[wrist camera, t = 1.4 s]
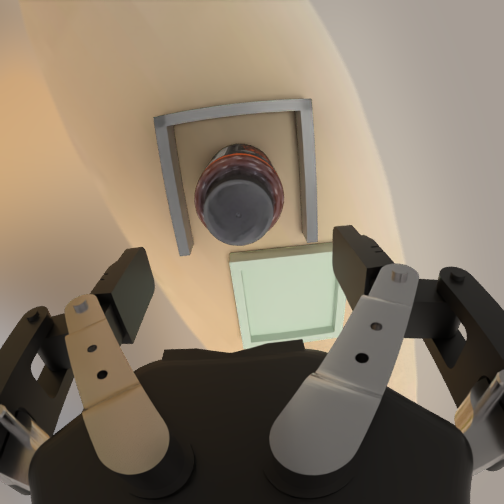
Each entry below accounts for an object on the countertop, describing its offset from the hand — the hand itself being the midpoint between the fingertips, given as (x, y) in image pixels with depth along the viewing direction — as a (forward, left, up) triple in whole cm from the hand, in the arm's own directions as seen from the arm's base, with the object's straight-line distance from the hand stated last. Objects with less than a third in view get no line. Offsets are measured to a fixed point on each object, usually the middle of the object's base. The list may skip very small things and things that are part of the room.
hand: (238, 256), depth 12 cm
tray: (+14, +4, -16) cm, 22 cm away
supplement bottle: (0, 0, -16) cm, 16 cm away
